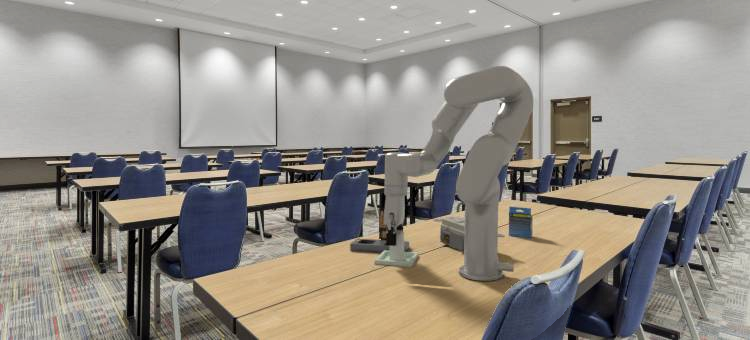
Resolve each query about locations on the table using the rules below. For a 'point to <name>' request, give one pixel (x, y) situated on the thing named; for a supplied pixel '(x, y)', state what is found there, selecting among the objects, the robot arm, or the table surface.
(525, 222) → the label tape box
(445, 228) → the electrical outlet
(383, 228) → the ammunition clip
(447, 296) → the table surface
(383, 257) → the tray
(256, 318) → the table surface
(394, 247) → the grey rectangular block
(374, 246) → the dark grey holder base
